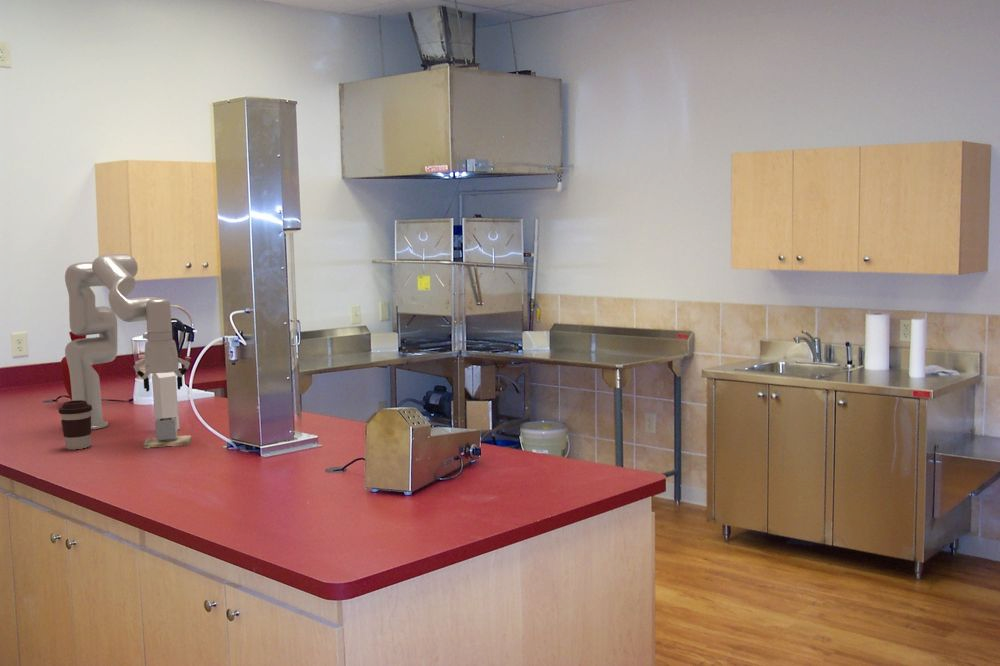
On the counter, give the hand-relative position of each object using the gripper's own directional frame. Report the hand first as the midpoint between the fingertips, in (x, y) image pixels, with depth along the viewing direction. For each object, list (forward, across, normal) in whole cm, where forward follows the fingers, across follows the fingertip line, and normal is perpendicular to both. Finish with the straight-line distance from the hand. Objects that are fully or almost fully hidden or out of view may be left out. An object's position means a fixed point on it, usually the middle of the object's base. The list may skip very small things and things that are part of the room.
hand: (163, 389), depth 333 cm
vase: (+19, -39, +88) cm, 98 cm away
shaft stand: (+18, 0, 0) cm, 18 cm away
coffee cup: (+18, -28, +5) cm, 34 cm away
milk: (+18, -2, +24) cm, 30 cm away
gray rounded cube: (+16, 0, 0) cm, 16 cm away
